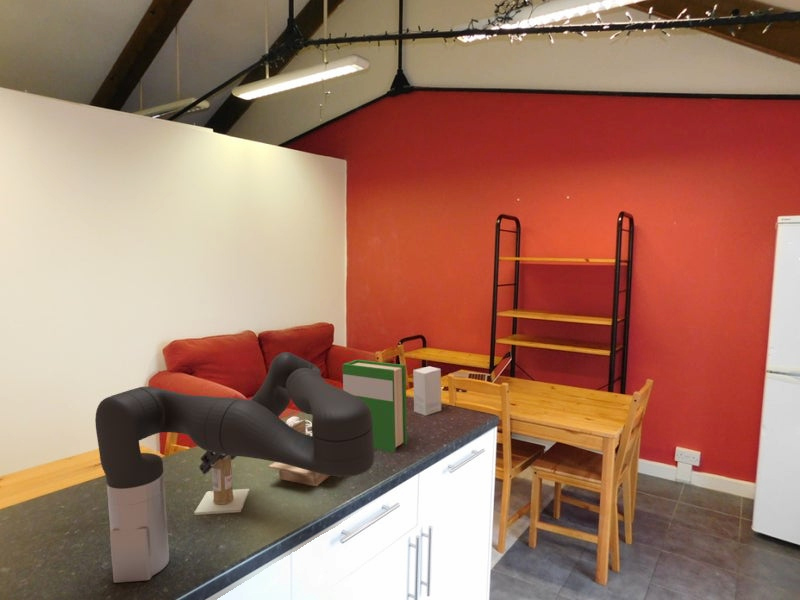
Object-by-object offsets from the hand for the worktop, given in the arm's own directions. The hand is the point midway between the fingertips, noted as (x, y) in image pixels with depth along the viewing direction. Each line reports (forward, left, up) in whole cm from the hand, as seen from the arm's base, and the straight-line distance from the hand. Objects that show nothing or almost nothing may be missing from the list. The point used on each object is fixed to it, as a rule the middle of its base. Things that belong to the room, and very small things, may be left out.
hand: (216, 463), depth 117 cm
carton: (+11, -22, -9) cm, 26 cm away
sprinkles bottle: (-1, -1, -9) cm, 9 cm away
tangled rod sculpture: (+42, -12, -10) cm, 45 cm away
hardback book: (+31, -38, -9) cm, 50 cm away
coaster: (-1, -1, -9) cm, 9 cm away
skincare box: (+58, -58, -9) cm, 83 cm away
